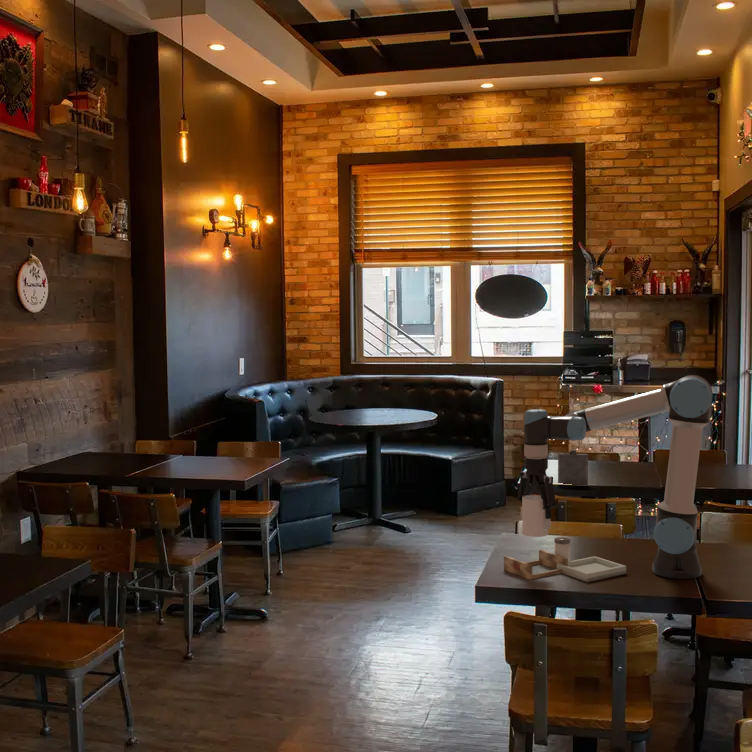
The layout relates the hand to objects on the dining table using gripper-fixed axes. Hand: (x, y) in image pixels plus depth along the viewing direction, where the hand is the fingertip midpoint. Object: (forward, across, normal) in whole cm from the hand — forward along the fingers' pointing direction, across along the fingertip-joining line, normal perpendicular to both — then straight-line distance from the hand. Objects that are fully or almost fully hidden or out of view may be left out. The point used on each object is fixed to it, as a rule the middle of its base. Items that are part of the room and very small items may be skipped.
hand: (536, 525), depth 293 cm
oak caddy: (+15, 0, 0) cm, 15 cm away
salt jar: (+15, 0, -11) cm, 19 cm away
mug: (+3, +1, 0) cm, 3 cm away
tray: (+15, -11, -14) cm, 23 cm away
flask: (+15, +103, -112) cm, 153 cm away
